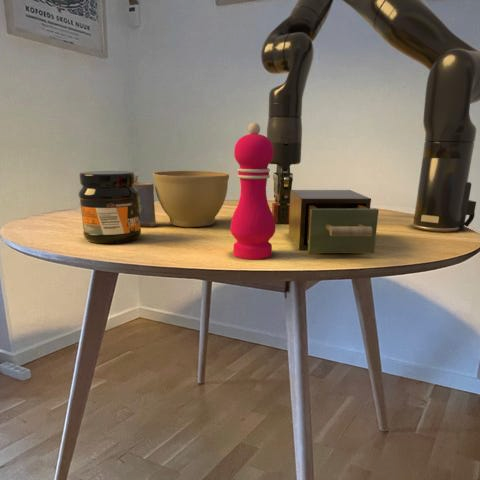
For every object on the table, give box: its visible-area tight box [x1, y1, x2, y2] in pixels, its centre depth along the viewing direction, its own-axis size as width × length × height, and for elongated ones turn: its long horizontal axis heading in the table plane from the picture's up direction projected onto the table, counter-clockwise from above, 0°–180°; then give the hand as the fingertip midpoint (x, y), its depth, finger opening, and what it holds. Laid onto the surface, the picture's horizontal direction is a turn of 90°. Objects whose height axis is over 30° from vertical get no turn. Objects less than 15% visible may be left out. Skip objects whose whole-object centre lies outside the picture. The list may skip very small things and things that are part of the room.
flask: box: [134, 173, 157, 228], centre depth 100 cm, size 9×3×11 cm, turn 61°
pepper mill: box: [229, 122, 276, 260], centre depth 73 cm, size 7×7×20 cm
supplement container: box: [78, 170, 142, 245], centre depth 86 cm, size 10×10×12 cm
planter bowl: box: [152, 170, 230, 228], centre depth 101 cm, size 16×16×11 cm
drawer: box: [304, 203, 380, 254], centre depth 76 cm, size 17×10×7 cm, turn 2°
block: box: [271, 202, 290, 224], centre depth 106 cm, size 4×4×4 cm
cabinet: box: [288, 189, 372, 251], centre depth 85 cm, size 14×12×9 cm
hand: (281, 220), depth 107 cm, fingers closed on block, 4 cm apart
